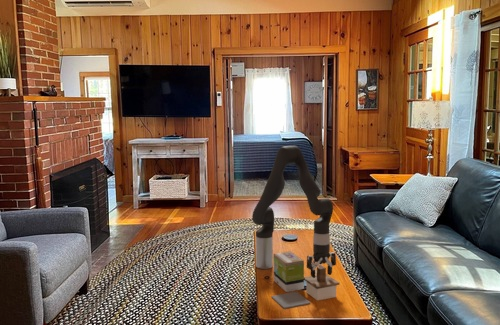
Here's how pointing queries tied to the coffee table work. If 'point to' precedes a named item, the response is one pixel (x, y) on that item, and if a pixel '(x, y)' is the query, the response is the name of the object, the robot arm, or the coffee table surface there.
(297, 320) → the coffee table surface
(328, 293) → the white square box
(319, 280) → the lid
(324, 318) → the coffee table surface
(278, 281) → the tea box
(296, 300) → the mat
